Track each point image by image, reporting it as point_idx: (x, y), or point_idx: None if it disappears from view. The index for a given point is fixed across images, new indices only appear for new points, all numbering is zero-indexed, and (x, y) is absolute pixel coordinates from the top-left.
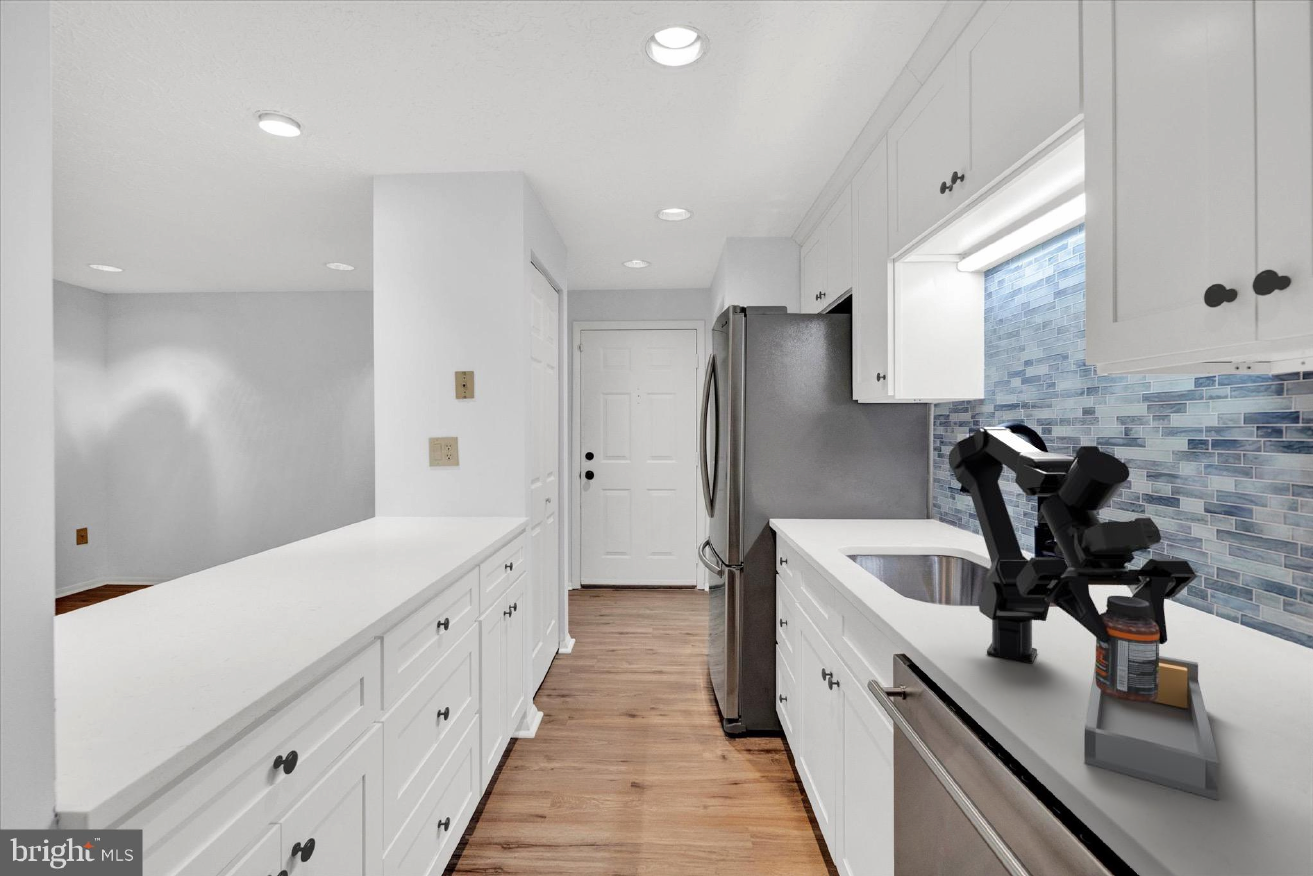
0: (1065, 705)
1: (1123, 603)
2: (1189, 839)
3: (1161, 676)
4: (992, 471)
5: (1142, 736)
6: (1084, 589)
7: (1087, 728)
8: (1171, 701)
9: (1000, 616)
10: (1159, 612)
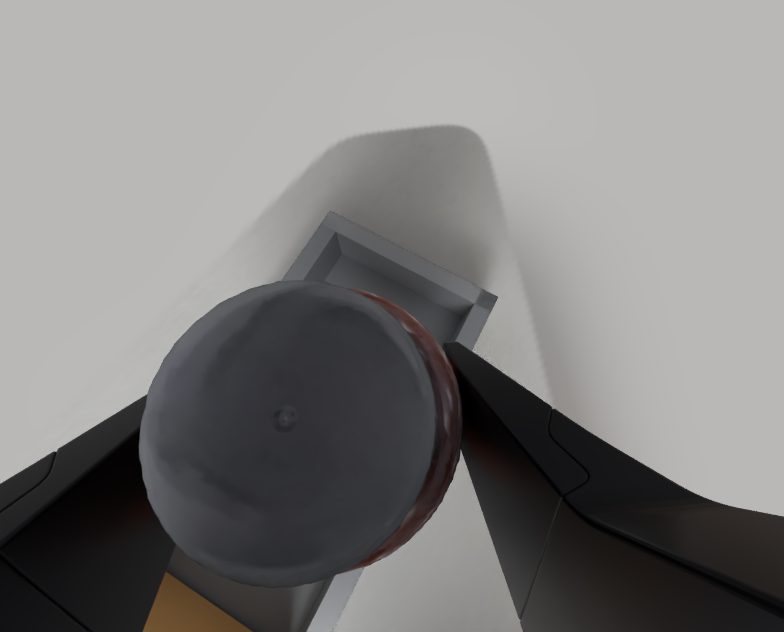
0: (408, 574)
1: (381, 316)
2: (432, 161)
3: None
4: None
5: None
6: (668, 529)
7: (490, 301)
8: (165, 578)
9: None
10: (89, 448)
